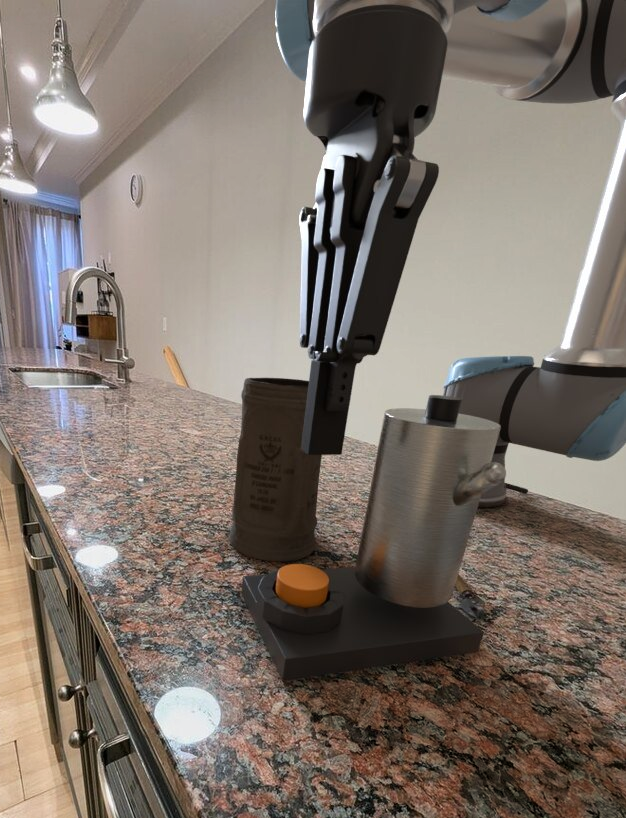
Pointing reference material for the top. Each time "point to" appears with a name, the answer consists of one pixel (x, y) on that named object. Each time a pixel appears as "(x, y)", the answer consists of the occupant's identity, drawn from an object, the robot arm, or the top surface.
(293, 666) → the kettle base
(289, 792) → the top surface
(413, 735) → the top surface
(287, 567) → the kettle button
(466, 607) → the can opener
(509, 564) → the top surface
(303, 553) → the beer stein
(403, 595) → the kettle
